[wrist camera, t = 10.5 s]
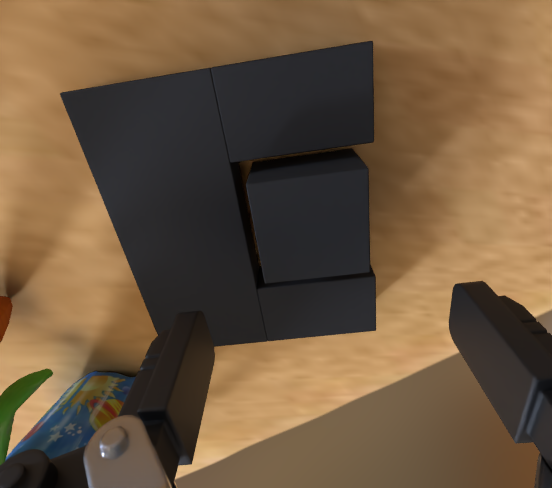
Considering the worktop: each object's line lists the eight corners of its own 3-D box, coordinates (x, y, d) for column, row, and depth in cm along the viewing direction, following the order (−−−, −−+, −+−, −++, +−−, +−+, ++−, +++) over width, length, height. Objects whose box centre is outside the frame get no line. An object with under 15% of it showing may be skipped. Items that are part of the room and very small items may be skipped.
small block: (252, 162, 19) (245, 183, 16) (352, 148, 19) (368, 167, 15) (267, 248, 22) (264, 284, 18) (355, 238, 21) (370, 272, 18)
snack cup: (11, 337, 26) (-137, 485, 17) (141, 317, 24) (58, 464, 15) (100, 457, 33) (31, 606, 24) (204, 446, 32) (173, 598, 23)
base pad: (87, 89, 17) (59, 92, 15) (360, 43, 16) (373, 40, 14) (174, 326, 25) (164, 351, 23) (367, 306, 24) (376, 331, 21)
